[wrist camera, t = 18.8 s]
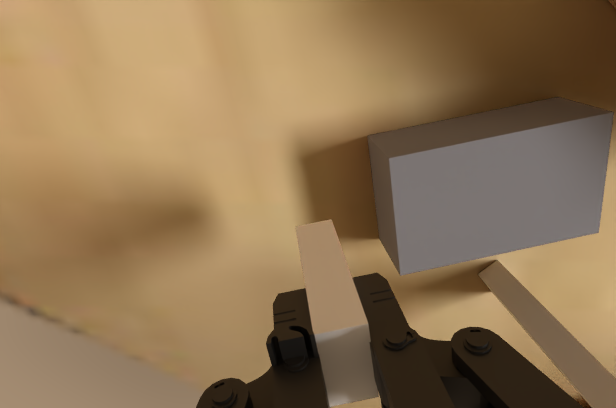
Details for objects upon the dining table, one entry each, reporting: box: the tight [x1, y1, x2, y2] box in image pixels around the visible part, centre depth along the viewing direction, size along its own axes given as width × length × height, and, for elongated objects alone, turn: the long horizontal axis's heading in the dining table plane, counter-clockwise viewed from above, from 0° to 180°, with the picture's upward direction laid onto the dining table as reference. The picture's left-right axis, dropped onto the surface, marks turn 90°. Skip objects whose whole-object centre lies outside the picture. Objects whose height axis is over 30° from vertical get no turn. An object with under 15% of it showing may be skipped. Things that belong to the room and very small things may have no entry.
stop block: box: [367, 97, 614, 276], centre depth 22 cm, size 10×6×4 cm, turn 100°
